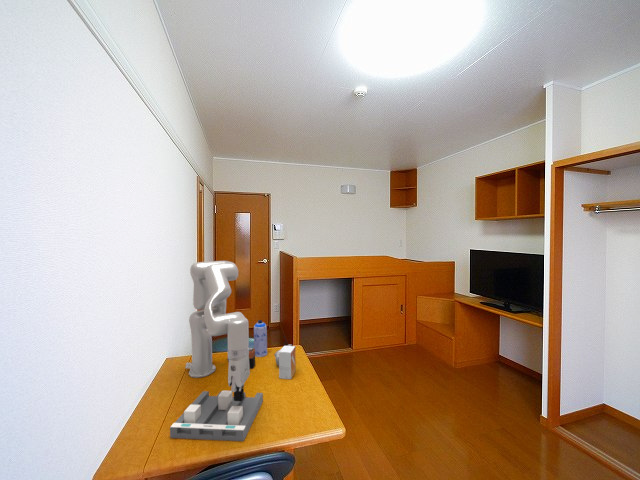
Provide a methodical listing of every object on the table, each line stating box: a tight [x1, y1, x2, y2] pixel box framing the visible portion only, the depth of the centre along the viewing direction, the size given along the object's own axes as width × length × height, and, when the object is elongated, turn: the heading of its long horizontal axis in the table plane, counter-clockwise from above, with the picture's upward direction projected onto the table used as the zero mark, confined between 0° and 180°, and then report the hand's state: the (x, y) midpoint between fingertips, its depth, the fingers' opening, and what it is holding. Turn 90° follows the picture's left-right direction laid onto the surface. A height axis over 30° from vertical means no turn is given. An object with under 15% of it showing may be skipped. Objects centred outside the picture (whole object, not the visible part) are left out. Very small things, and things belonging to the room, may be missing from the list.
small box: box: [278, 345, 297, 380], centre depth 133 cm, size 8×6×13 cm
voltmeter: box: [274, 334, 293, 367], centre depth 149 cm, size 27×11×10 cm, turn 19°
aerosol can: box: [253, 319, 268, 358], centre depth 157 cm, size 8×8×20 cm
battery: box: [249, 347, 256, 370], centre depth 142 cm, size 4×7×10 cm, turn 87°
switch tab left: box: [183, 403, 201, 424], centre depth 97 cm, size 4×4×5 cm
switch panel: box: [169, 390, 264, 442], centre depth 101 cm, size 26×22×4 cm
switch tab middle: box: [218, 389, 233, 410], centre depth 105 cm, size 4×4×5 cm
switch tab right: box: [227, 406, 243, 425], centre depth 95 cm, size 4×4×5 cm
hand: (238, 399), depth 100 cm, fingers closed
